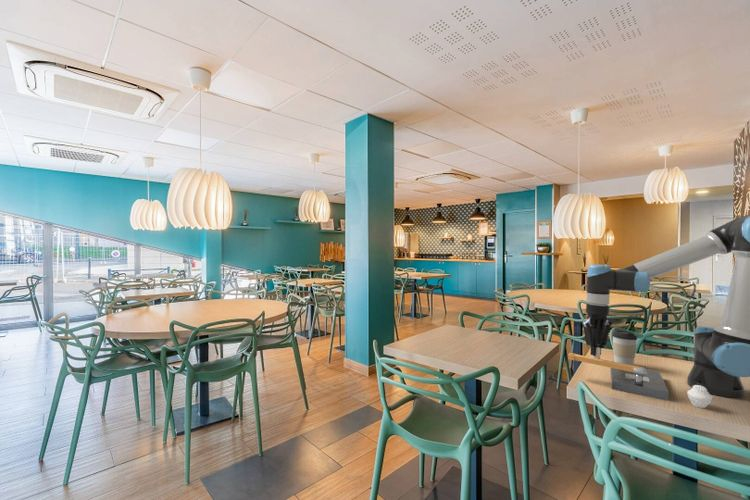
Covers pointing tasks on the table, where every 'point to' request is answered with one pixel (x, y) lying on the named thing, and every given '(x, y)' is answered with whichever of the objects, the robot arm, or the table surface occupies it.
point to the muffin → (699, 396)
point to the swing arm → (607, 363)
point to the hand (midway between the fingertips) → (595, 363)
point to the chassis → (640, 383)
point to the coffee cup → (624, 347)
